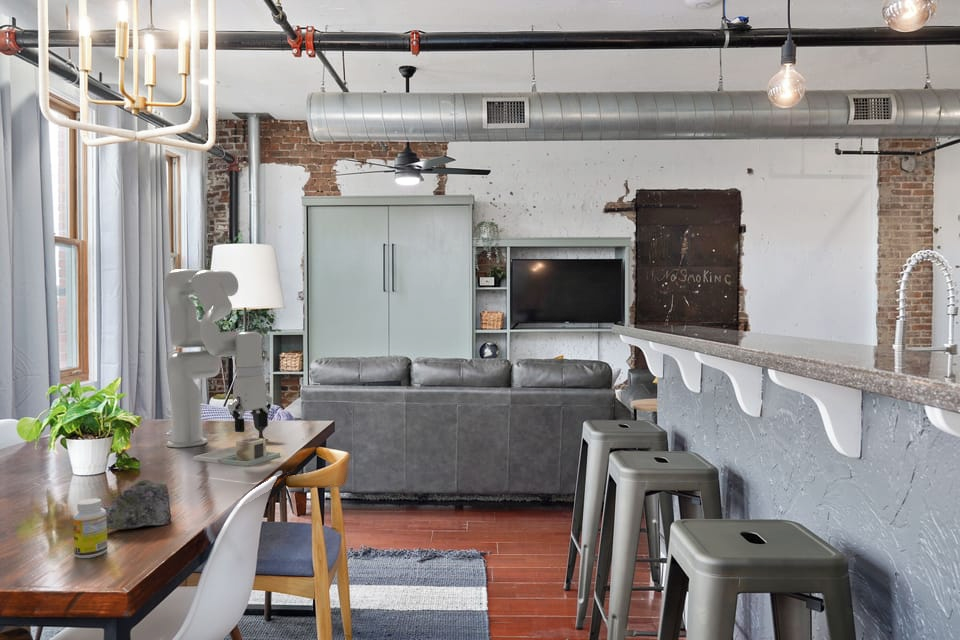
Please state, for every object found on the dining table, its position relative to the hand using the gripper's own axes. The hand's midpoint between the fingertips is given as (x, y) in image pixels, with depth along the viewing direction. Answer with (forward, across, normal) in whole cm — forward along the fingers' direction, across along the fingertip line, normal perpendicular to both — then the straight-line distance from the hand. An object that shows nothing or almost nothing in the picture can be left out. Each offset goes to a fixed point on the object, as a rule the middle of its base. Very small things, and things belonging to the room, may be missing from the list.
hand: (251, 429), depth 205 cm
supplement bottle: (+11, +71, +27) cm, 76 cm away
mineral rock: (+11, +56, +20) cm, 60 cm away
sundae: (+9, -25, -20) cm, 34 cm away
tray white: (+10, 0, -12) cm, 16 cm away
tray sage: (+10, 0, -1) cm, 10 cm away
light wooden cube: (+9, 0, -1) cm, 9 cm away
